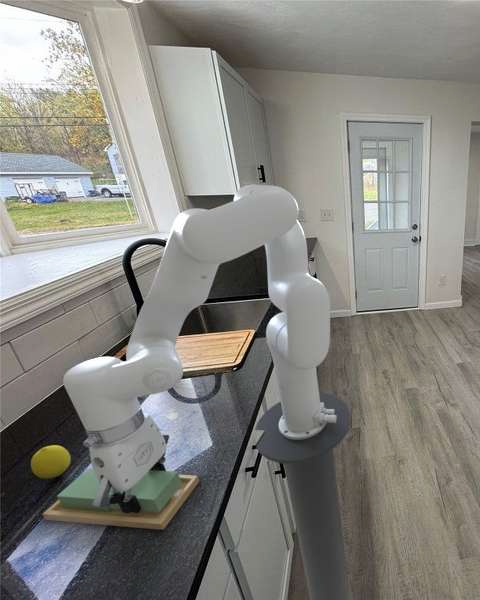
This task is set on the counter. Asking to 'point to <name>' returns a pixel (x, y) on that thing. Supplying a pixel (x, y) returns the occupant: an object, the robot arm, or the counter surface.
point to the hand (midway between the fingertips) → (147, 493)
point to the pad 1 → (82, 493)
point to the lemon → (50, 461)
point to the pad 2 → (154, 490)
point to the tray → (127, 519)
